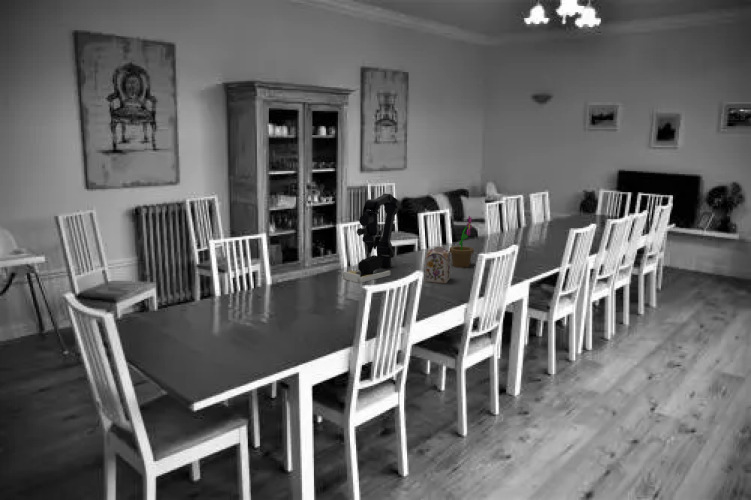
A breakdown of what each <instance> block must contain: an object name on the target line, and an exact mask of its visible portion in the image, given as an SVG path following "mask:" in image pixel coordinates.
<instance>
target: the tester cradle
mask: <svg viewBox="0 0 751 500" xmlns="http://www.w3.org/2000/svg"><path fill="white" fill-rule="evenodd" d="M376 271H377V270H375V271H373V274H372V275H366V276H362V277H360V275H361V272H360V271H359V270H350V269H349V270H348V271H345V270H344V271H342V280H346V281H350V282H353V283H357V284H360V283H366V282H368V281H373V280H377V279H381V278H384V277H385V278H386V277H390V276H391V270H386V271H383V272H382V271H381V272H378V273H376Z"/></svg>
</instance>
